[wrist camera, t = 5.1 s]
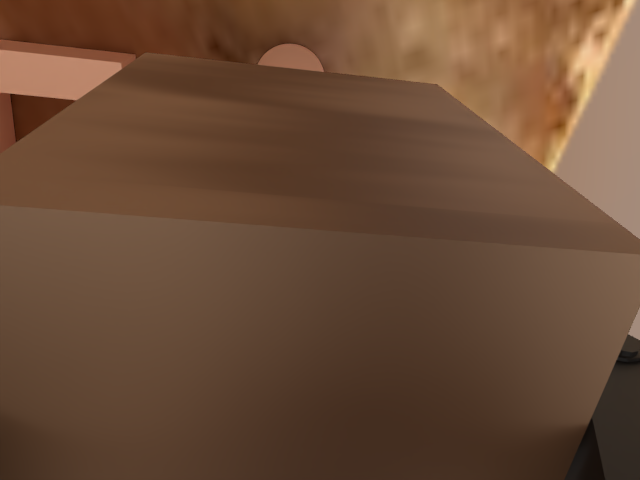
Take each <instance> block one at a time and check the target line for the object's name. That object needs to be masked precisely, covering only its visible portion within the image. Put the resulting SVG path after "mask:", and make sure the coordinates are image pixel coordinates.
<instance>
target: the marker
mask: <svg viewBox="0 0 640 480" xmlns="http://www.w3.org/2000/svg"><path fill="white" fill-rule="evenodd" d="M257 65H265V66H274V67H283V68H292V69H301V70H311V71H320V72H324V70H323V67H322V64H321V62H320V61H319V59H318V58H317V57H316V55H315V54H314V53H313V52H311V51H310V50H309V49H307V48H305V47H303V46H300V45H297V44H281V45H278V46H275V47H273V48H272V49H270V50H269V51H267V52H266V53H265V54H264V55H263V56H262V58H261V59H260V61H259V62H258V64H257Z"/></svg>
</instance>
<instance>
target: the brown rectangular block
mask: <svg viewBox="0 0 640 480" xmlns="http://www.w3.org/2000/svg"><path fill="white" fill-rule="evenodd" d="M639 307H640V239H639V238H637V237H636V236H634V235H633V234H632V233H631V232H629V231H628V230H627V229H625V228H624V227H623V226H622V225H620V224H619V223H618V222H616V221H615V220H614V219H612V218H611V217H610V216H608V215H607V214H606V213H604V212H603V211H602V210H601V209H599V208H598V207H597V206H595V205H594V204H593V203H591V202H590V201H589V200H588V199H586V198H585V197H584V196H582V195H581V194H580V193H578V192H577V191H576V190H574V189H573V188H572V187H570V186H569V185H568V184H566V183H565V182H564V181H563V180H561V179H560V178H559V177H557V176H556V175H555V174H554V173H552V172H551V171H550V170H548V169H547V168H546V167H544V166H543V165H542V164H540V163H539V162H538V161H537V160H535V159H534V158H533V157H531V156H530V155H529V154H527V153H526V152H525V151H523V150H522V149H521V148H520V147H518V146H517V145H516V144H514V143H513V142H512V141H510V140H509V139H508V138H506V137H505V136H504V135H503V134H501V133H500V132H499V131H497V130H496V129H495V128H493V127H492V126H491V125H489V124H488V123H487V122H486V121H484V120H483V119H482V118H480V117H479V116H478V115H476V114H475V113H474V112H472V111H471V110H470V109H469V108H467V107H466V106H465V105H463V104H462V103H461V102H459V101H458V100H457V99H455V98H454V97H453V96H452V95H450V94H449V93H448V92H446V91H445V90H444V89H442V88H441V87H440V86H438V85H437V84H429V83H420V82H411V81H402V80H393V79H383V78H374V77H365V76H356V75H347V74H338V73H329V72H320V71H311V70H301V69H292V68H283V67H274V66H265V65H256V64H247V63H238V62H229V61H220V60H210V59H201V58H192V57H183V56H174V55H165V54H156V53H147V52H146V53H144V54H143V55H141V56H140V57H138V58H137V59H136V60H134V61H133V62H131V63H130V64H128V65H127V66H125V67H124V68H123V69H121V70H120V71H118V72H117V73H115V74H114V75H113V76H111V77H110V78H108V79H107V80H105V81H104V82H102V83H101V84H100V85H98V86H97V87H95V88H94V89H92V90H91V91H90V92H88V93H87V94H85V95H84V96H82V97H81V98H79V99H78V100H77V101H75V102H74V103H72V104H71V105H69V106H68V107H67V108H65V109H64V110H62V111H61V112H59V113H58V114H56V115H55V116H54V117H52V118H51V119H49V120H48V121H46V122H45V123H44V124H42V125H41V126H39V127H38V128H36V129H35V130H33V131H32V132H31V133H29V134H28V135H26V136H25V137H23V138H22V139H21V140H19V141H18V142H16V143H15V144H13V145H12V146H10V147H9V148H8V149H6V150H5V151H3V152H2V153H0V480H564V479H565V477H566V475H567V472H568V470H569V468H570V466H571V463H572V461H573V459H574V456H575V454H576V452H577V450H578V447H579V445H580V443H581V440H582V438H583V436H584V434H585V431H586V429H587V427H588V424H589V422H590V420H591V417H592V415H593V413H594V411H595V408H596V406H597V404H598V401H599V399H600V397H601V395H602V392H603V390H604V388H605V385H606V383H607V381H608V379H609V376H610V374H611V372H612V369H613V367H614V365H615V362H616V360H617V358H618V356H619V353H620V351H621V349H622V346H623V344H624V342H625V340H626V337H627V335H628V332H629V330H630V328H631V325H632V323H633V321H634V319H635V317H636V314H637V312H638V309H639Z"/></svg>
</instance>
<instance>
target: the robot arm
mask: <svg viewBox="0 0 640 480" xmlns="http://www.w3.org/2000/svg"><path fill="white" fill-rule="evenodd" d="M564 480H640V340H638V339H636V338H634V337H632V336H630V335H627V337H626V340H625V342H624V344H623V346H622V349H621V351H620V353H619V356H618V358H617V360H616V362H615V365H614V367H613V369H612V372H611V374H610V376H609V379H608V381H607V383H606V385H605V388H604V390H603V392H602V395H601V397H600V399H599V401H598V404H597V406H596V408H595V411H594V413H593V415H592V417H591V420H590V422H589V424H588V427H587V429H586V431H585V434H584V436H583V438H582V440H581V443H580V445H579V447H578V450H577V452H576V454H575V456H574V459H573V461H572V463H571V466H570V468H569V470H568V472H567V475H566V477H565V479H564Z"/></svg>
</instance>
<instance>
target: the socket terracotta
mask: <svg viewBox="0 0 640 480" xmlns="http://www.w3.org/2000/svg"><path fill="white" fill-rule="evenodd" d="M134 60H136V54H127V53H118V52H109V51H100V50H91V49H82V48H73V47H64V46H55V45H46V44H37V43H28V42H19V41H11V40H2V39H0V153H2V152H3V151H5V150H6V149H8V148H9V147H10V146H12V145H13V144H15V143H16V138H15V130H14V121H13V113H12V105H11V97H10V94H20V95H30V96H40V97H50V98H59V99H69V100H78V99H79V98H81V97H82V96H84V95H85V94H87V93H88V92H90V91H91V90H92V89H94V88H95V87H97V86H98V85H100V84H101V83H102V82H104V81H105V80H107V79H108V78H110V77H111V76H113V75H114V74H115V73H117V72H118V71H120V70H121V69H123V68H124V67H125V66H127V65H128V64H130V63H131V62H133V61H134Z"/></svg>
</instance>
